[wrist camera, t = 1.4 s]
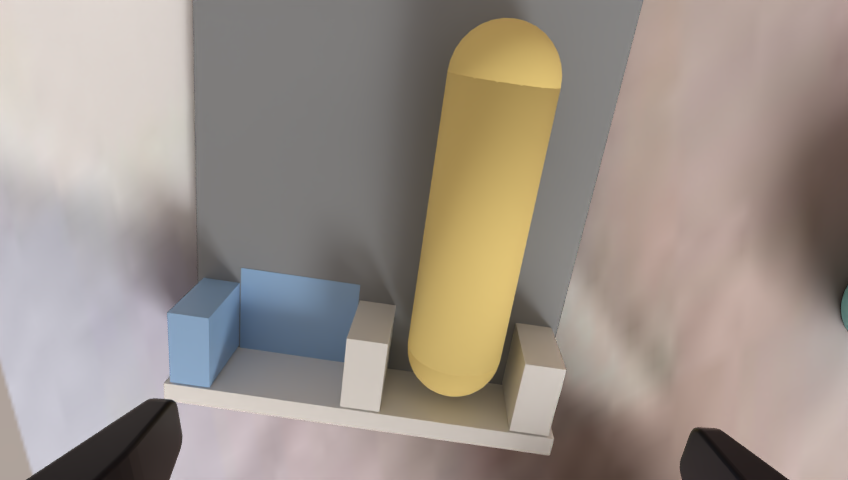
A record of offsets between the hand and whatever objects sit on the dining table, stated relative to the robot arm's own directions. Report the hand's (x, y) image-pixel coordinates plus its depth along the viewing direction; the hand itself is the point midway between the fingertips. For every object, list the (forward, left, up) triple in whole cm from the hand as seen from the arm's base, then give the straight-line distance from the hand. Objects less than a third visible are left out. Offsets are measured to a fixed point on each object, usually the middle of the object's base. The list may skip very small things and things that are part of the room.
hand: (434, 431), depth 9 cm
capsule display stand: (+2, 0, -13) cm, 13 cm away
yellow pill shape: (-1, 0, -12) cm, 12 cm away
